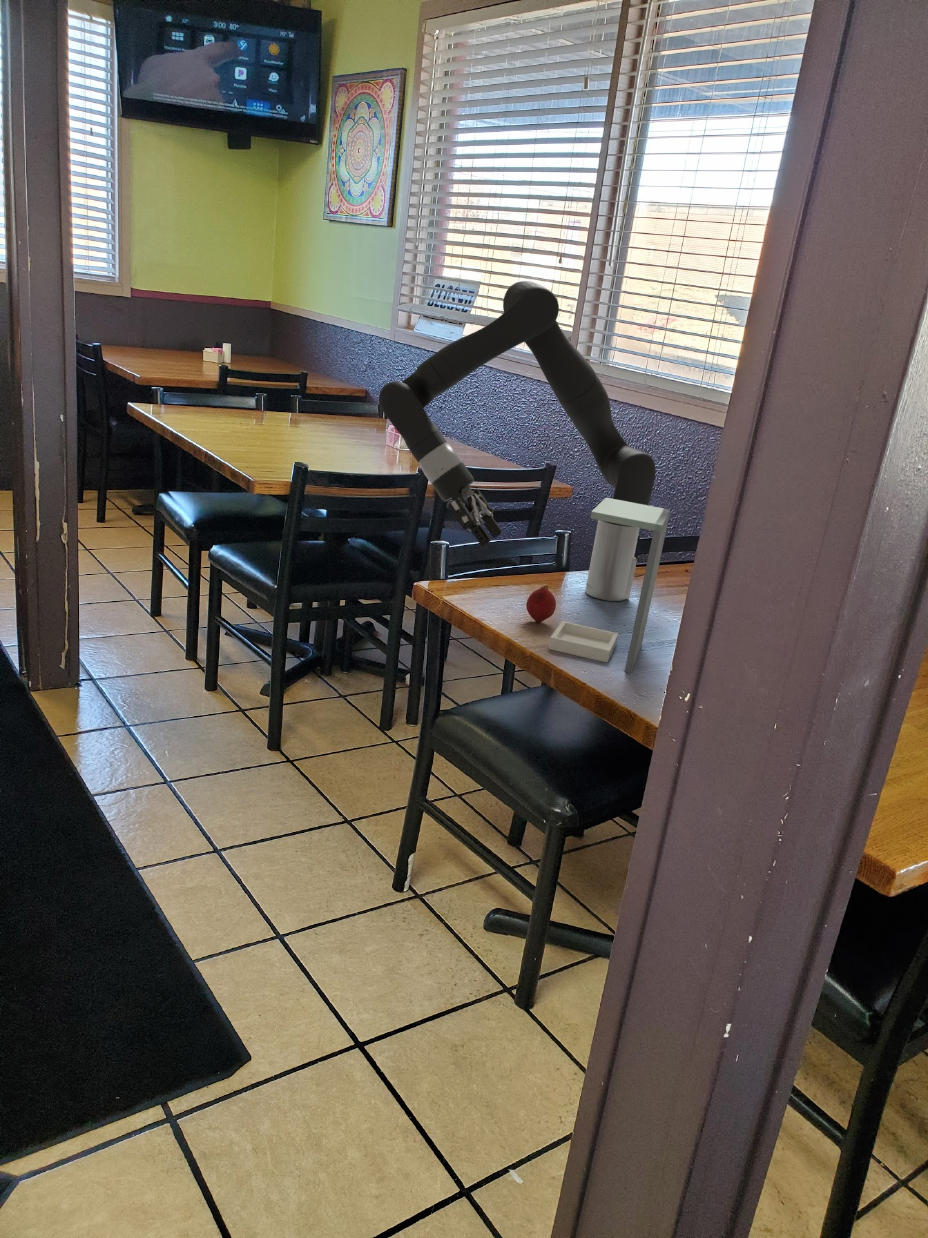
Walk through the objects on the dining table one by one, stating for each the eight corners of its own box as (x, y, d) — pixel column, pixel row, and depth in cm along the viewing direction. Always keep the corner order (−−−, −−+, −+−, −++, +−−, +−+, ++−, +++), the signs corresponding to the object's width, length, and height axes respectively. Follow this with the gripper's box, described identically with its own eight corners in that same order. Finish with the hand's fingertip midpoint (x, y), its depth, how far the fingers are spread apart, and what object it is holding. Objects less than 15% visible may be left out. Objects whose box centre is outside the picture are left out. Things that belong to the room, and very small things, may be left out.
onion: (544, 629, 182) (551, 591, 179) (518, 621, 184) (525, 583, 182) (557, 623, 186) (564, 585, 184) (532, 615, 189) (538, 578, 187)
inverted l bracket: (564, 657, 169) (591, 511, 160) (580, 632, 183) (605, 497, 175) (631, 672, 166) (662, 525, 157) (641, 646, 180) (670, 509, 172)
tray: (548, 648, 172) (550, 637, 171) (560, 631, 182) (562, 620, 181) (607, 662, 169) (609, 650, 168) (616, 644, 179) (618, 633, 178)
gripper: (449, 464, 174) (498, 536, 175) (471, 456, 187) (516, 523, 188) (419, 487, 177) (467, 557, 178) (442, 477, 190) (487, 542, 191)
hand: (492, 539), depth 183 cm, fingers open, 8 cm apart
